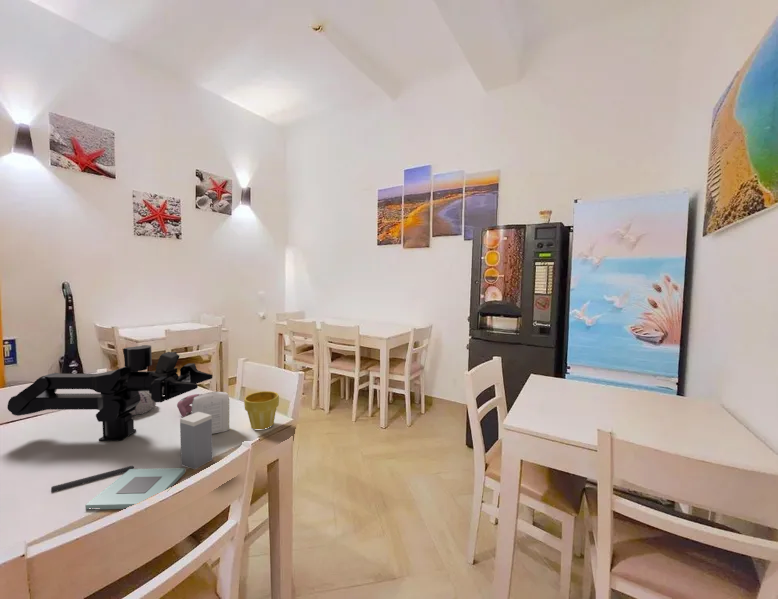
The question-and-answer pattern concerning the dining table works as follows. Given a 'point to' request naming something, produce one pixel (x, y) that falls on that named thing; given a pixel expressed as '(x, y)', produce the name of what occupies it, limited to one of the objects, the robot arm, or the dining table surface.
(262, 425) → the plant pot
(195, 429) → the light grey rectangular block
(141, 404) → the sea urchin shell
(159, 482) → the teal flat square slab
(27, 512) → the dining table surface
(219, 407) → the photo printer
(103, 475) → the dark grey bar
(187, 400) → the video game controller
